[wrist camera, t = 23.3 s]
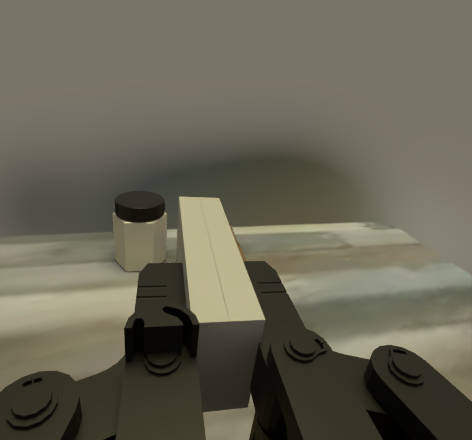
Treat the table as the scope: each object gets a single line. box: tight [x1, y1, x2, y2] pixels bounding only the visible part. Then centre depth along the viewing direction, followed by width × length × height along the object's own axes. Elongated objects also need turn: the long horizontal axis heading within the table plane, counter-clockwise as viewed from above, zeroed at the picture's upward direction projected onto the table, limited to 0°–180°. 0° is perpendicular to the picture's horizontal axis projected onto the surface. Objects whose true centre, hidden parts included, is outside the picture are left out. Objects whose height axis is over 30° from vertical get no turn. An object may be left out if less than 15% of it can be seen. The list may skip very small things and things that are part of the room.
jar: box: [113, 191, 167, 272], centre depth 58 cm, size 9×8×12 cm
